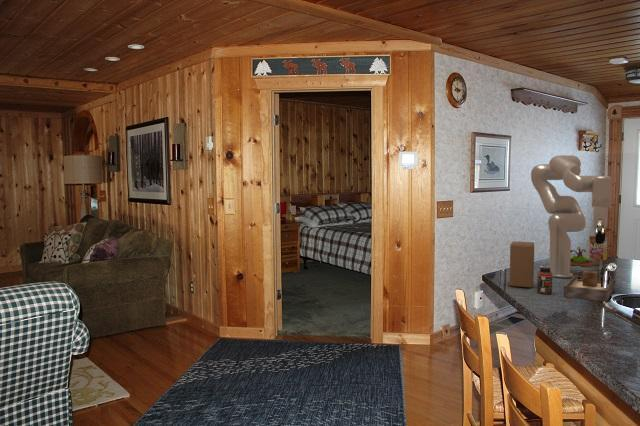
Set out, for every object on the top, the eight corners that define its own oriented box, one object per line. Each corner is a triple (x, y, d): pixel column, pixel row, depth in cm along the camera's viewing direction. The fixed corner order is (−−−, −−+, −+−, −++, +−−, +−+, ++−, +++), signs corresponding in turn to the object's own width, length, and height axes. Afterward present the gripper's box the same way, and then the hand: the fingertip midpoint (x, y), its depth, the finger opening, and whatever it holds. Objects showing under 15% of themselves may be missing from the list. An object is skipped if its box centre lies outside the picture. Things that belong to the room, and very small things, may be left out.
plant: (553, 266, 283) (554, 246, 282) (566, 262, 297) (567, 243, 296) (592, 270, 269) (592, 250, 268) (603, 266, 282) (604, 246, 282)
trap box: (563, 296, 209) (563, 286, 209) (573, 284, 232) (574, 275, 232) (607, 301, 200) (607, 290, 200) (613, 288, 223) (613, 279, 223)
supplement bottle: (545, 295, 212) (546, 268, 212) (533, 292, 218) (534, 266, 217) (555, 293, 215) (555, 267, 214) (543, 290, 220) (543, 265, 220)
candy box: (588, 261, 298) (588, 235, 297) (592, 260, 300) (593, 235, 299) (602, 263, 290) (603, 237, 289) (607, 262, 292) (608, 236, 291)
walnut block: (582, 285, 216) (582, 272, 216) (584, 283, 220) (584, 270, 220) (595, 287, 213) (595, 273, 213) (596, 285, 217) (597, 271, 217)
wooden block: (533, 284, 235) (534, 242, 233) (532, 288, 226) (533, 244, 224) (510, 282, 239) (511, 241, 238) (509, 286, 230) (510, 243, 228)
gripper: (593, 202, 230) (592, 239, 232) (590, 204, 216) (589, 243, 217) (612, 203, 226) (610, 240, 228) (610, 204, 212) (609, 244, 213)
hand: (600, 242), depth 222 cm, fingers open, 9 cm apart
